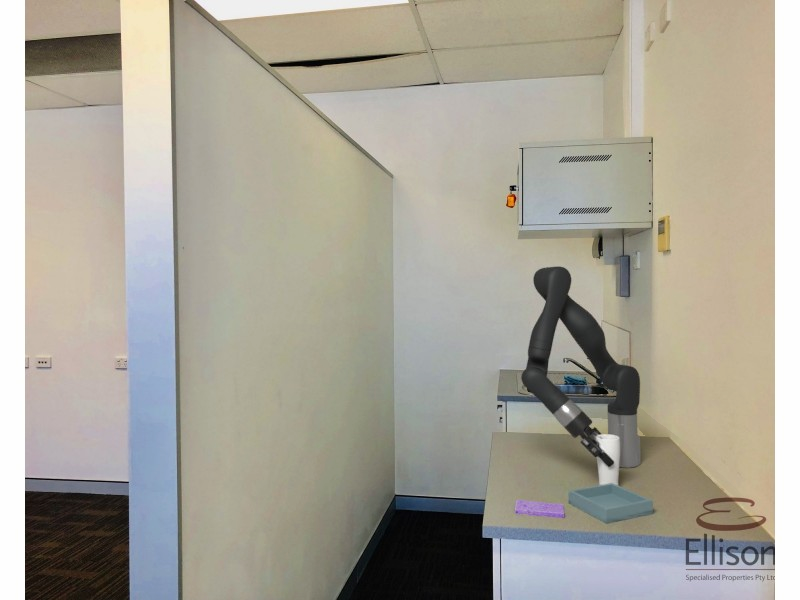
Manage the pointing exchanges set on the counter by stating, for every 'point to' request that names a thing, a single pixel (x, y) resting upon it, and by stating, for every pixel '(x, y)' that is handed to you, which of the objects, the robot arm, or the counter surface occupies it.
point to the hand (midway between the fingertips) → (613, 461)
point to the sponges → (539, 509)
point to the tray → (610, 502)
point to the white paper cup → (613, 451)
